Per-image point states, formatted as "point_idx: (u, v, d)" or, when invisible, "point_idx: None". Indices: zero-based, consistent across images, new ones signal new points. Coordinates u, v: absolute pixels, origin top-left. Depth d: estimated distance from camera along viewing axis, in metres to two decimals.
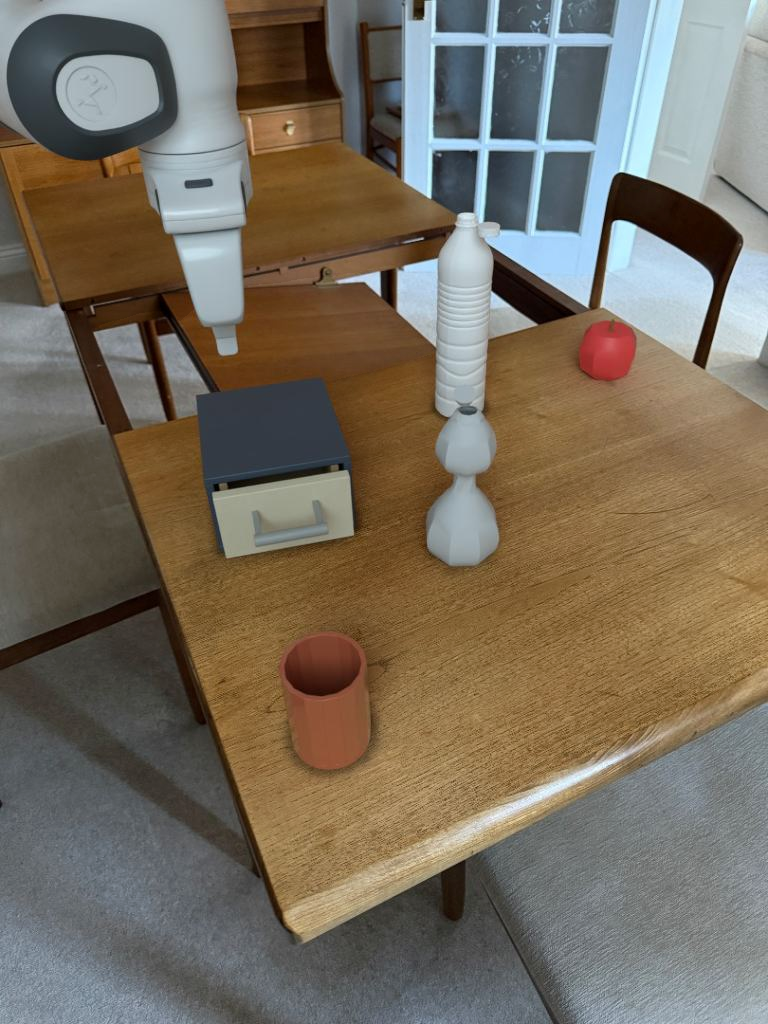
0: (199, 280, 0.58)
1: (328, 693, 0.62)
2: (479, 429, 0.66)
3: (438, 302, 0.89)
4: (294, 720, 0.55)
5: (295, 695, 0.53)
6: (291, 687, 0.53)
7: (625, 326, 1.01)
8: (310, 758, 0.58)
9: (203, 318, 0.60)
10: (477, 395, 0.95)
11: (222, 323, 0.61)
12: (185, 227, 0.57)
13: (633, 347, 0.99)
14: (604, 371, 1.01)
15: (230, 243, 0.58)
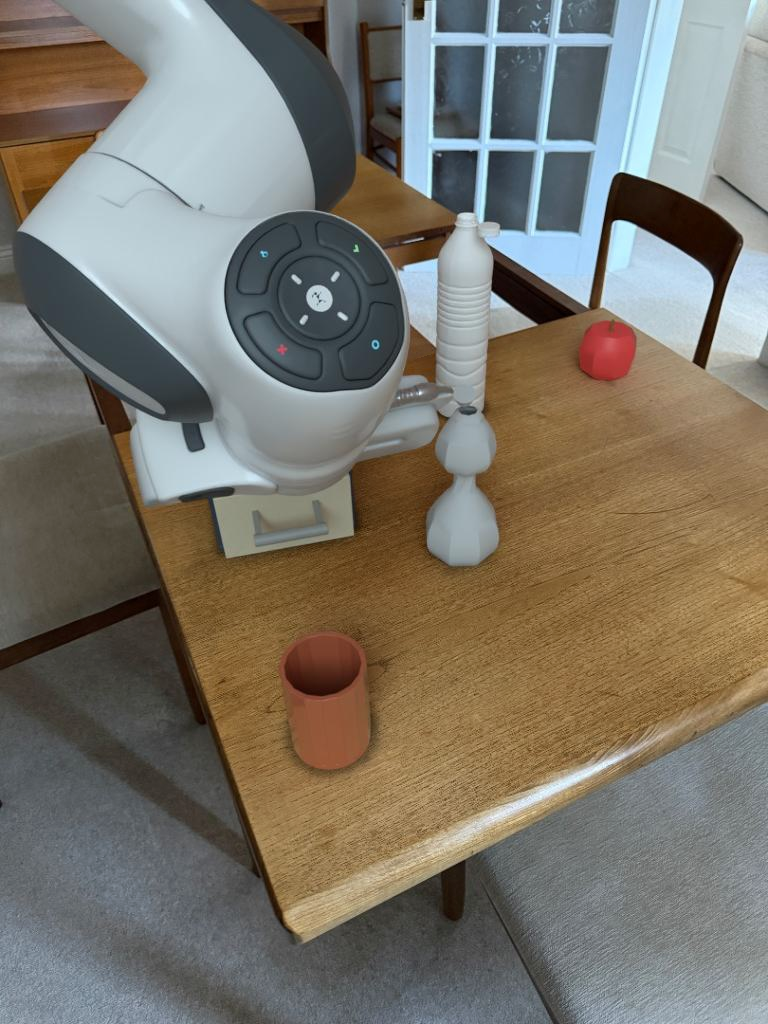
0: (131, 452, 0.46)
1: (328, 693, 0.62)
2: (479, 429, 0.65)
3: (438, 302, 0.89)
4: (294, 720, 0.55)
5: (295, 695, 0.53)
6: (291, 687, 0.53)
7: (625, 326, 1.01)
8: (310, 758, 0.58)
9: None
10: (477, 395, 0.95)
11: None
12: None
13: (633, 347, 0.99)
14: (604, 371, 1.01)
15: (149, 486, 0.43)
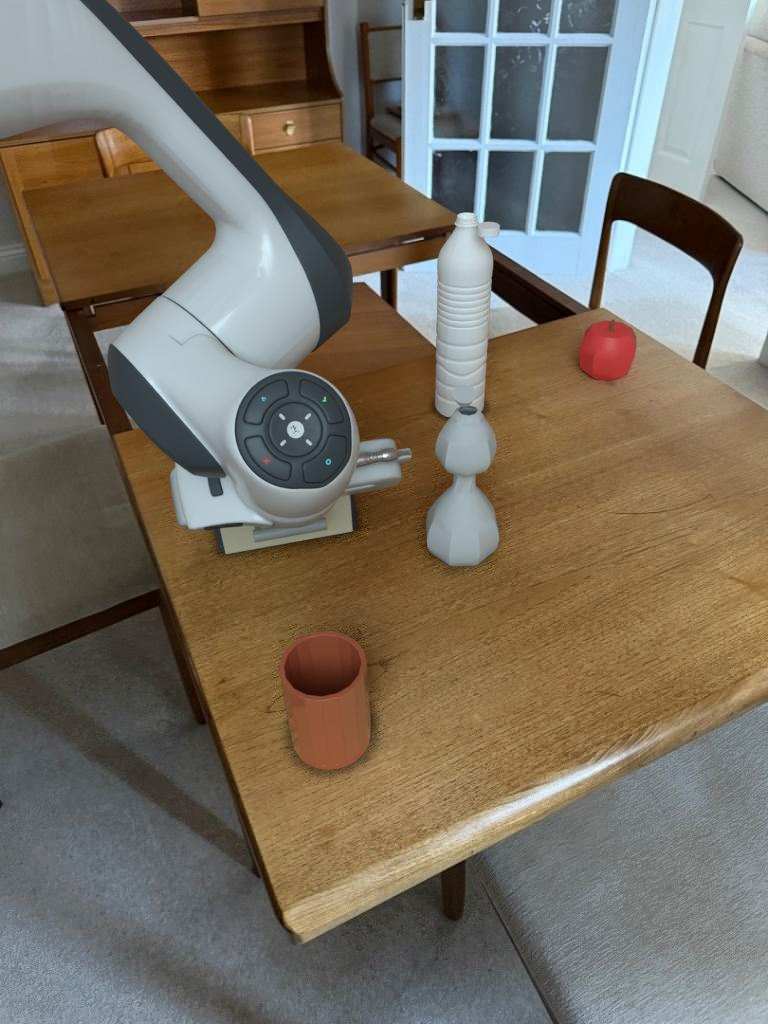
0: None
1: (328, 693, 0.62)
2: (479, 429, 0.65)
3: (438, 302, 0.89)
4: (294, 720, 0.55)
5: (295, 695, 0.53)
6: (291, 687, 0.53)
7: (625, 326, 1.01)
8: (310, 758, 0.58)
9: None
10: (477, 395, 0.95)
11: None
12: None
13: (633, 347, 0.99)
14: (604, 371, 1.01)
15: (182, 515, 0.60)
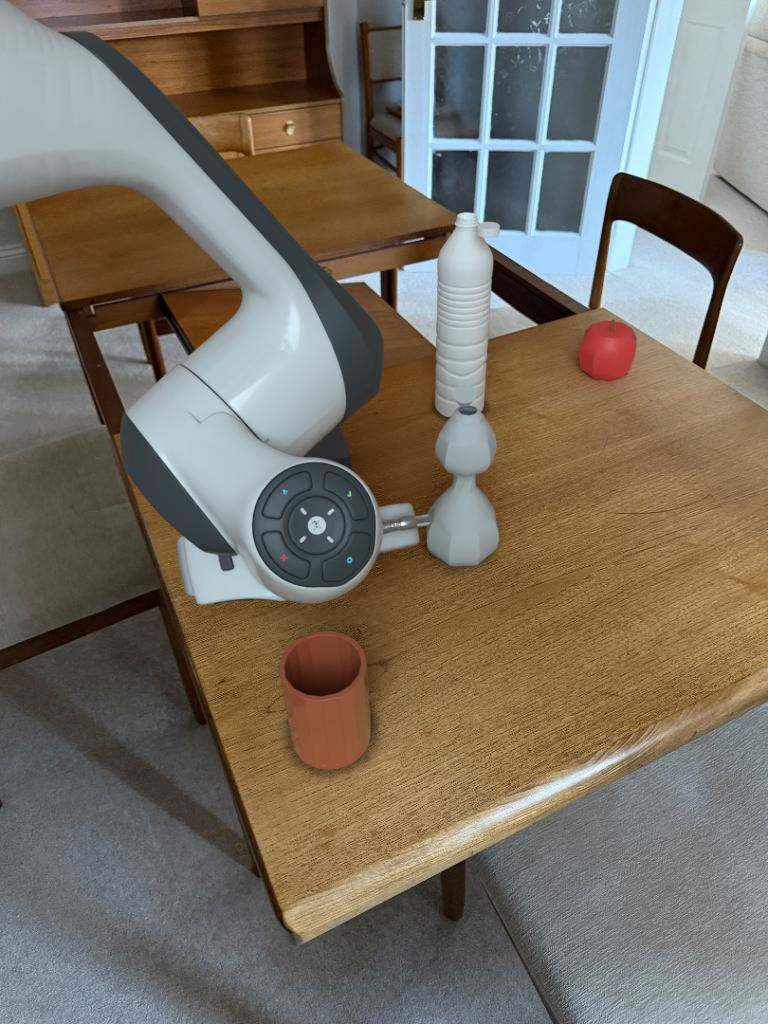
0: None
1: (328, 693, 0.62)
2: (479, 429, 0.65)
3: (438, 302, 0.89)
4: (294, 720, 0.55)
5: (295, 695, 0.53)
6: (291, 687, 0.53)
7: (625, 326, 1.01)
8: (310, 758, 0.58)
9: None
10: (477, 395, 0.95)
11: None
12: None
13: (633, 347, 0.99)
14: (604, 371, 1.01)
15: (190, 586, 0.57)
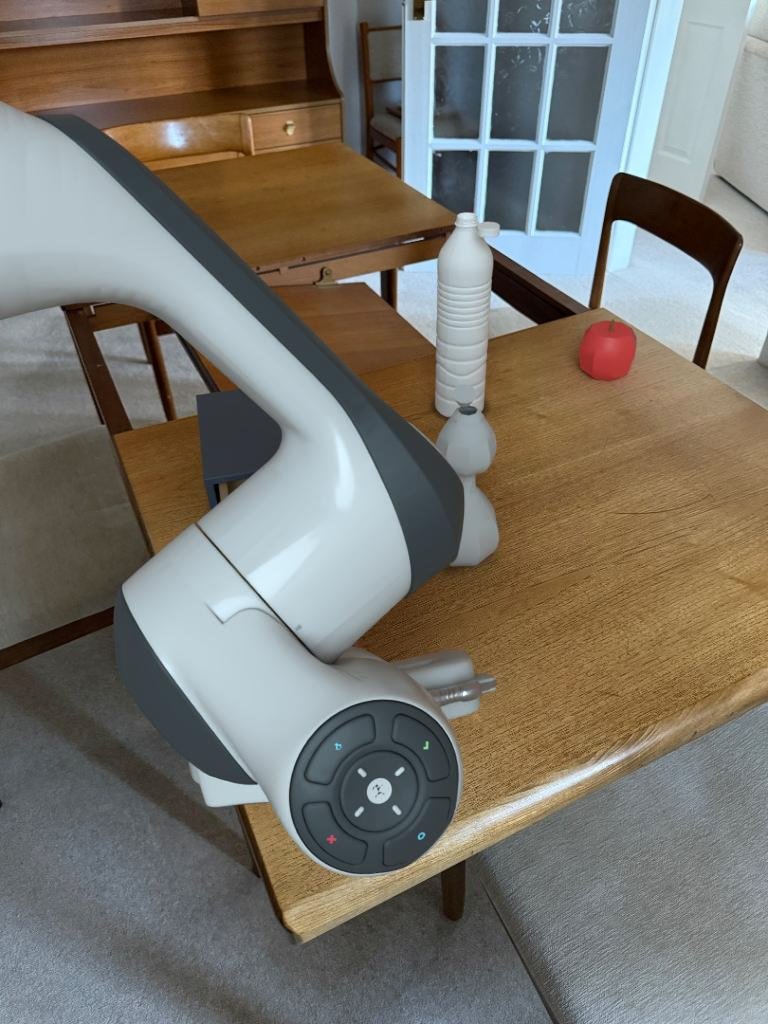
0: None
1: None
2: (479, 429, 0.65)
3: (438, 302, 0.89)
4: None
5: None
6: None
7: (625, 326, 1.01)
8: None
9: None
10: (477, 395, 0.95)
11: None
12: None
13: (633, 347, 0.99)
14: (604, 371, 1.01)
15: (197, 773, 0.45)
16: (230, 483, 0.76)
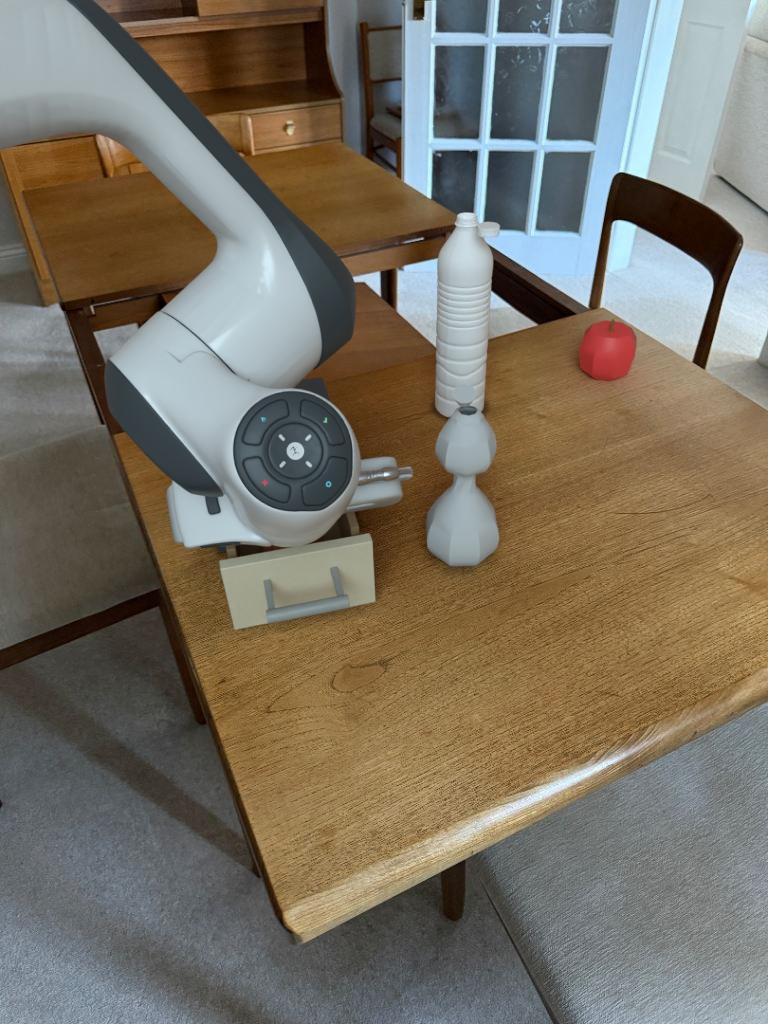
0: (167, 503, 0.61)
1: None
2: (479, 429, 0.65)
3: (438, 302, 0.89)
4: None
5: None
6: None
7: (625, 326, 1.01)
8: None
9: None
10: (477, 395, 0.95)
11: None
12: None
13: (633, 347, 0.99)
14: (604, 371, 1.01)
15: (178, 532, 0.59)
16: None
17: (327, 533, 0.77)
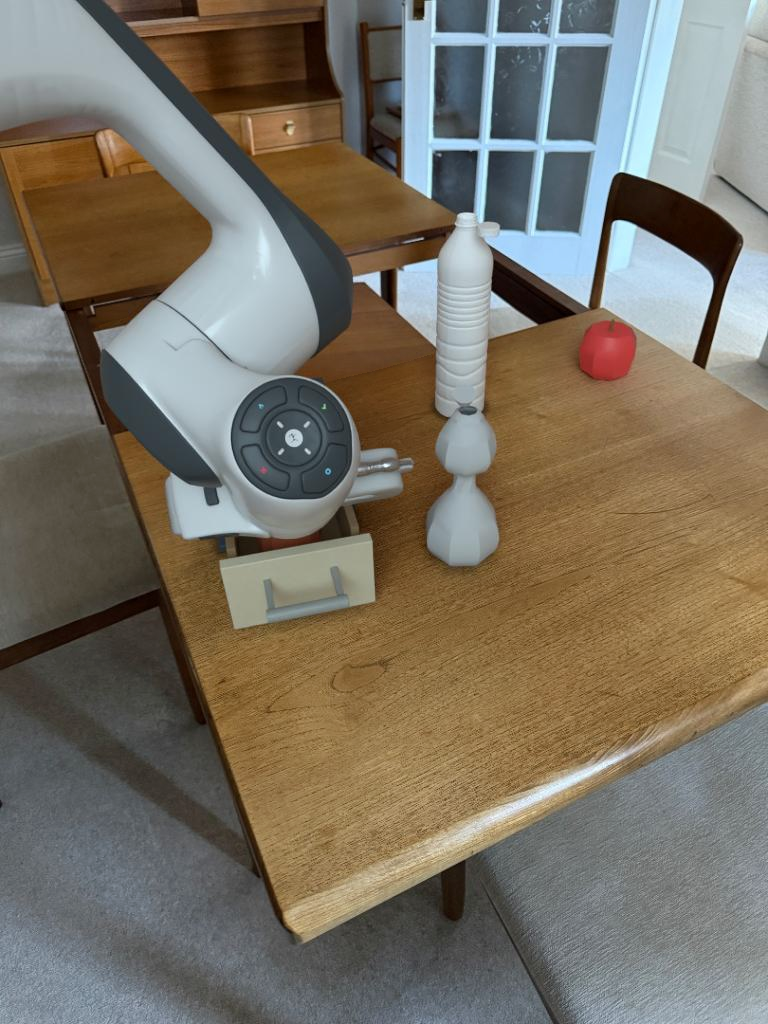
0: None
1: None
2: (479, 429, 0.65)
3: (438, 302, 0.89)
4: None
5: None
6: None
7: (625, 326, 1.01)
8: None
9: None
10: (477, 395, 0.95)
11: None
12: None
13: (633, 347, 0.99)
14: (604, 371, 1.01)
15: (177, 524, 0.58)
16: None
17: (327, 533, 0.77)
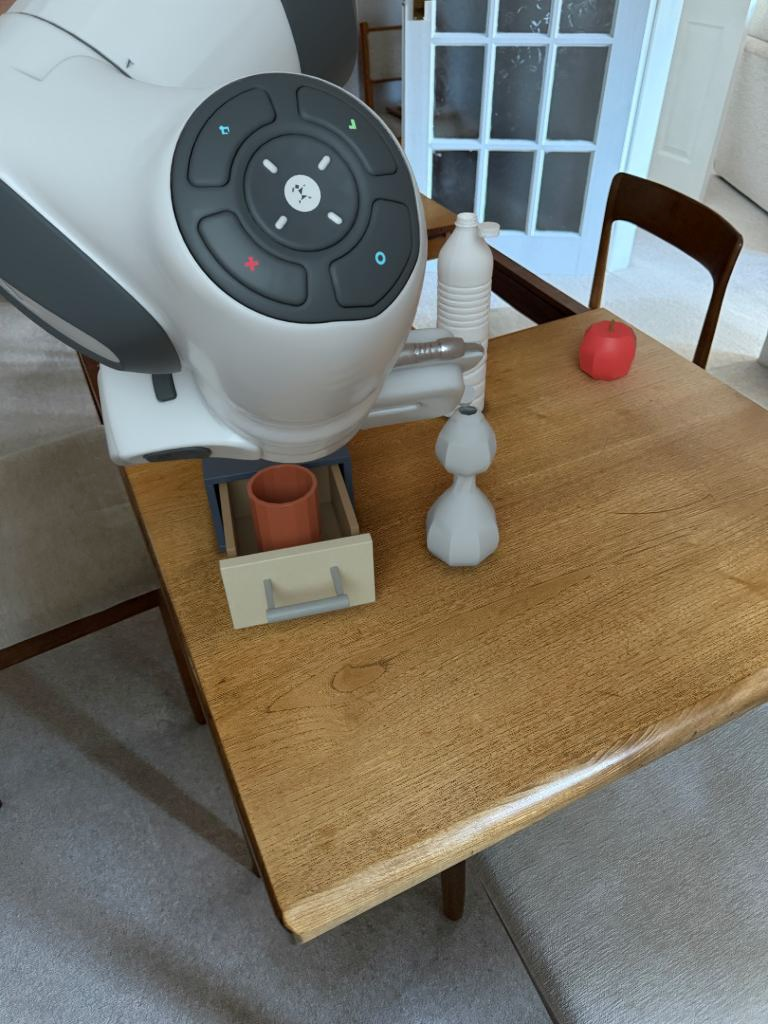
0: None
1: None
2: (479, 429, 0.65)
3: (438, 302, 0.89)
4: (259, 530, 0.69)
5: (259, 503, 0.67)
6: (256, 498, 0.67)
7: (625, 326, 1.01)
8: None
9: None
10: (477, 395, 0.95)
11: None
12: None
13: (633, 347, 0.99)
14: (604, 371, 1.01)
15: None
16: (230, 483, 0.76)
17: (327, 533, 0.77)
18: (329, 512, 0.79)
